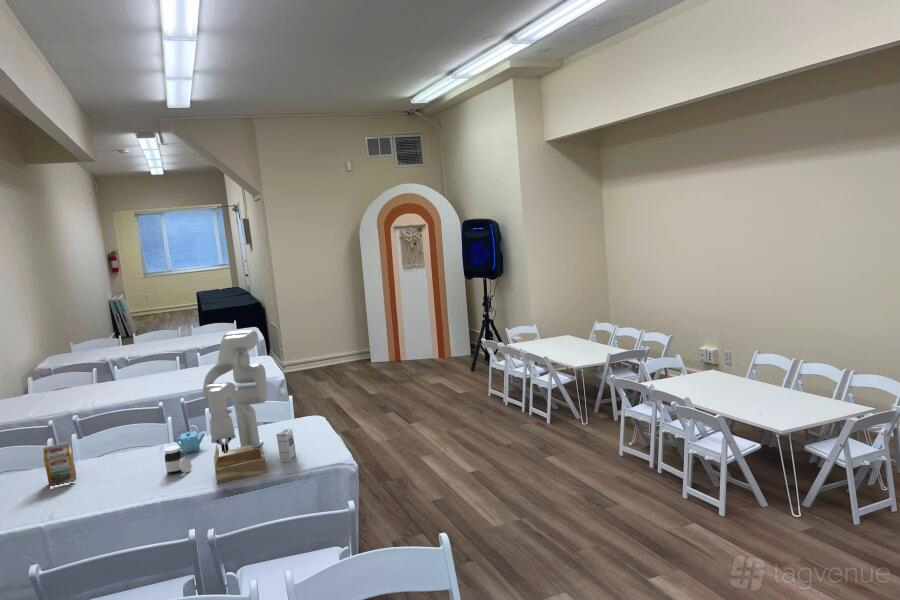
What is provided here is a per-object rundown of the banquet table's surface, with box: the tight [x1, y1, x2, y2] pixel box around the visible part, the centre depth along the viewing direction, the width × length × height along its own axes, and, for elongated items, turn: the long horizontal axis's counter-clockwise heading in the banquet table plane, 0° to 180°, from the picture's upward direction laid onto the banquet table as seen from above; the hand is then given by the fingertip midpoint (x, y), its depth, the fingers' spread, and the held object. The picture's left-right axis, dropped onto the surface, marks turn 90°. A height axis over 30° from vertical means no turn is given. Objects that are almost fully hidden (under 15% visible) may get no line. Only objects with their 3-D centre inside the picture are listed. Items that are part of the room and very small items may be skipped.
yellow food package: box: [42, 442, 77, 488], centre depth 309 cm, size 11×11×19 cm
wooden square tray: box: [213, 445, 268, 485], centre depth 305 cm, size 22×22×7 cm
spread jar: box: [164, 444, 193, 475], centre depth 310 cm, size 12×11×12 cm
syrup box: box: [275, 428, 297, 463], centre depth 312 cm, size 6×6×14 cm
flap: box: [213, 443, 220, 468], centre depth 298 cm, size 13×7×1 cm
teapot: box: [175, 430, 206, 455], centre depth 336 cm, size 18×14×10 cm
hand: (225, 452), depth 300 cm, fingers closed
